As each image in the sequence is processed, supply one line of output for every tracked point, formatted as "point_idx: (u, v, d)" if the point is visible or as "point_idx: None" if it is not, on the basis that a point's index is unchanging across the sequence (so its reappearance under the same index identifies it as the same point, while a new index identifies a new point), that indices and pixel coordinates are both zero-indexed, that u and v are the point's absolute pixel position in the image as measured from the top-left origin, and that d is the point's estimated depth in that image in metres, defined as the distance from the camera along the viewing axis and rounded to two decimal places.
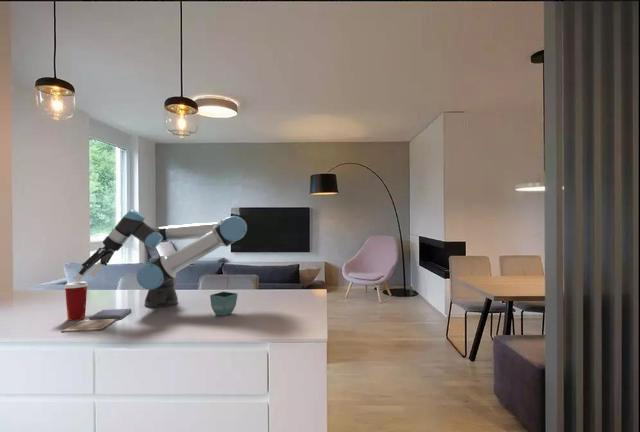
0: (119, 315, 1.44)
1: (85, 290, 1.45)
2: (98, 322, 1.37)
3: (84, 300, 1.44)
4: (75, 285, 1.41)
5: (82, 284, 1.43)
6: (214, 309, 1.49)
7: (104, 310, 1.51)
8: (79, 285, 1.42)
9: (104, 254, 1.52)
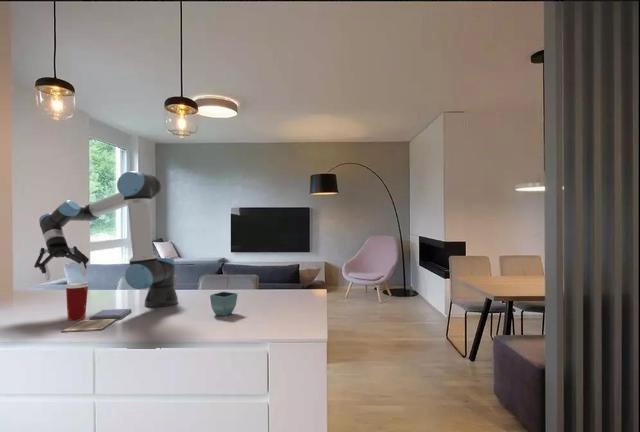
0: (119, 315, 1.44)
1: (86, 290, 1.45)
2: (98, 322, 1.37)
3: (84, 300, 1.44)
4: (76, 285, 1.41)
5: (83, 284, 1.43)
6: (214, 309, 1.49)
7: (104, 310, 1.51)
8: (80, 285, 1.42)
9: None
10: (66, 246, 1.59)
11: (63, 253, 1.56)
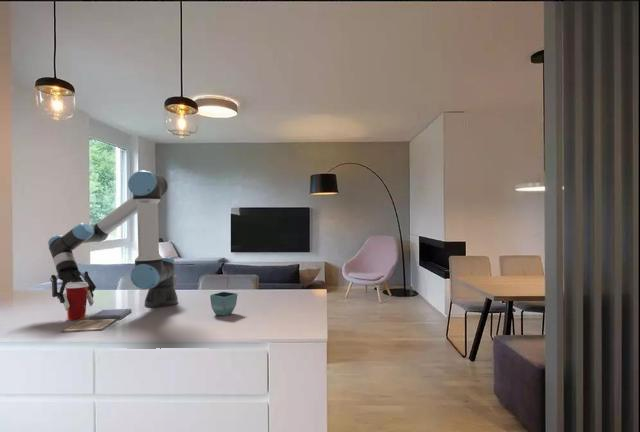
0: (119, 315, 1.44)
1: (86, 290, 1.45)
2: (98, 322, 1.37)
3: (84, 300, 1.44)
4: (76, 285, 1.41)
5: (83, 284, 1.43)
6: (214, 309, 1.49)
7: (104, 310, 1.51)
8: (80, 285, 1.42)
9: (63, 276, 1.46)
10: (77, 270, 1.52)
11: (74, 278, 1.49)
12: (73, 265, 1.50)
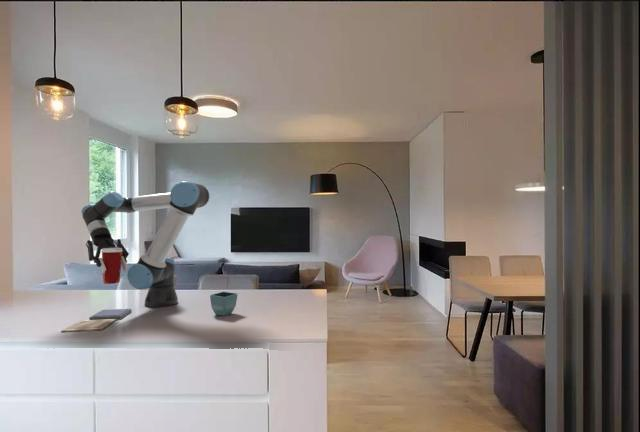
0: (119, 315, 1.44)
1: (120, 255, 1.49)
2: (98, 322, 1.37)
3: (119, 265, 1.48)
4: (112, 250, 1.45)
5: (118, 249, 1.47)
6: (214, 309, 1.49)
7: (104, 310, 1.51)
8: (115, 250, 1.46)
9: (98, 242, 1.50)
10: (110, 237, 1.56)
11: (108, 244, 1.53)
12: (107, 232, 1.54)
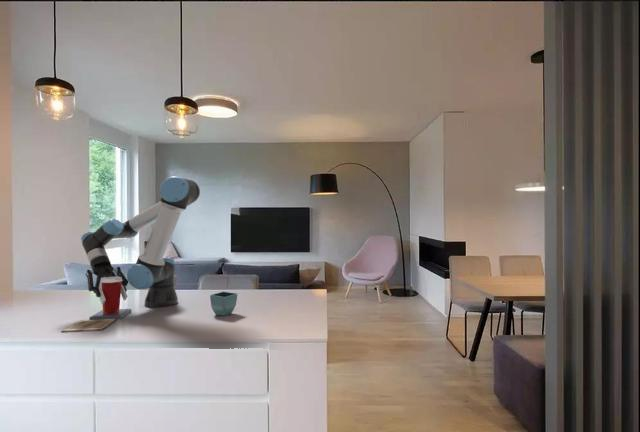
0: (119, 315, 1.44)
1: (120, 285, 1.48)
2: (98, 322, 1.37)
3: (119, 295, 1.48)
4: (111, 280, 1.45)
5: (118, 279, 1.47)
6: (214, 309, 1.49)
7: None
8: (115, 280, 1.46)
9: (97, 271, 1.50)
10: (110, 265, 1.56)
11: (108, 273, 1.52)
12: (106, 260, 1.54)
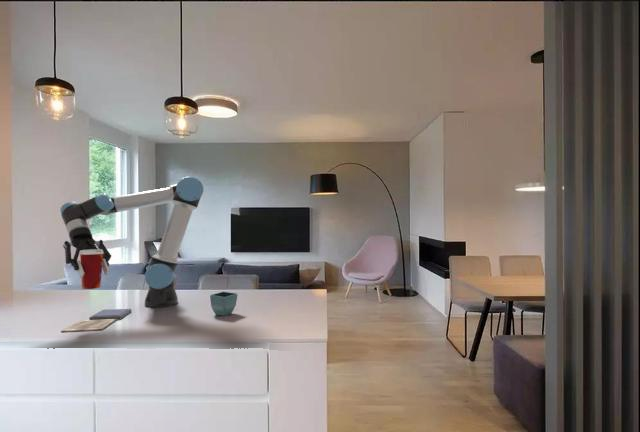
0: (119, 315, 1.44)
1: (101, 258, 1.35)
2: (98, 322, 1.37)
3: (100, 268, 1.35)
4: (91, 251, 1.32)
5: (98, 251, 1.34)
6: (214, 309, 1.49)
7: (104, 310, 1.51)
8: (95, 252, 1.33)
9: (77, 243, 1.37)
10: (91, 238, 1.42)
11: (88, 246, 1.39)
12: (87, 232, 1.41)
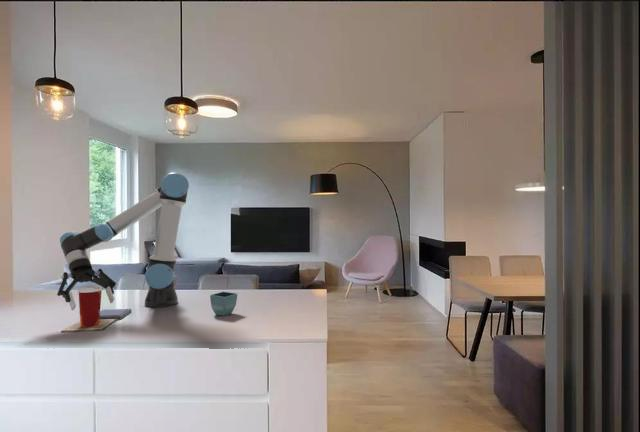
0: (119, 315, 1.44)
1: (100, 294, 1.35)
2: None
3: (98, 305, 1.34)
4: (89, 289, 1.31)
5: (97, 288, 1.33)
6: (214, 309, 1.49)
7: (104, 310, 1.51)
8: (94, 289, 1.32)
9: (76, 276, 1.36)
10: (91, 269, 1.42)
11: (88, 277, 1.39)
12: (87, 263, 1.40)
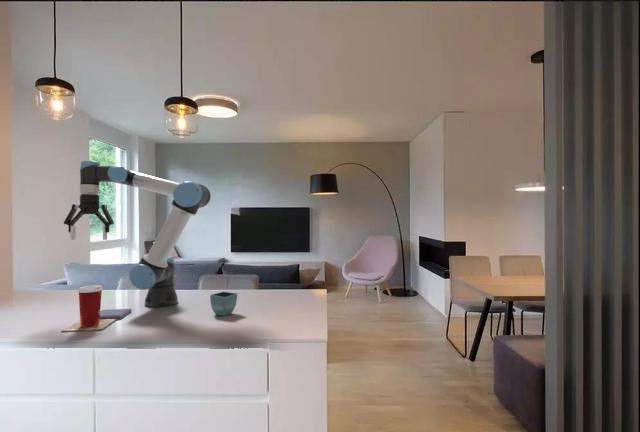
0: (119, 315, 1.44)
1: (100, 295, 1.35)
2: None
3: (98, 305, 1.34)
4: (90, 289, 1.31)
5: (97, 288, 1.33)
6: (214, 309, 1.49)
7: (104, 310, 1.51)
8: (94, 289, 1.32)
9: None
10: (95, 204, 1.58)
11: (90, 212, 1.58)
12: (89, 201, 1.55)
